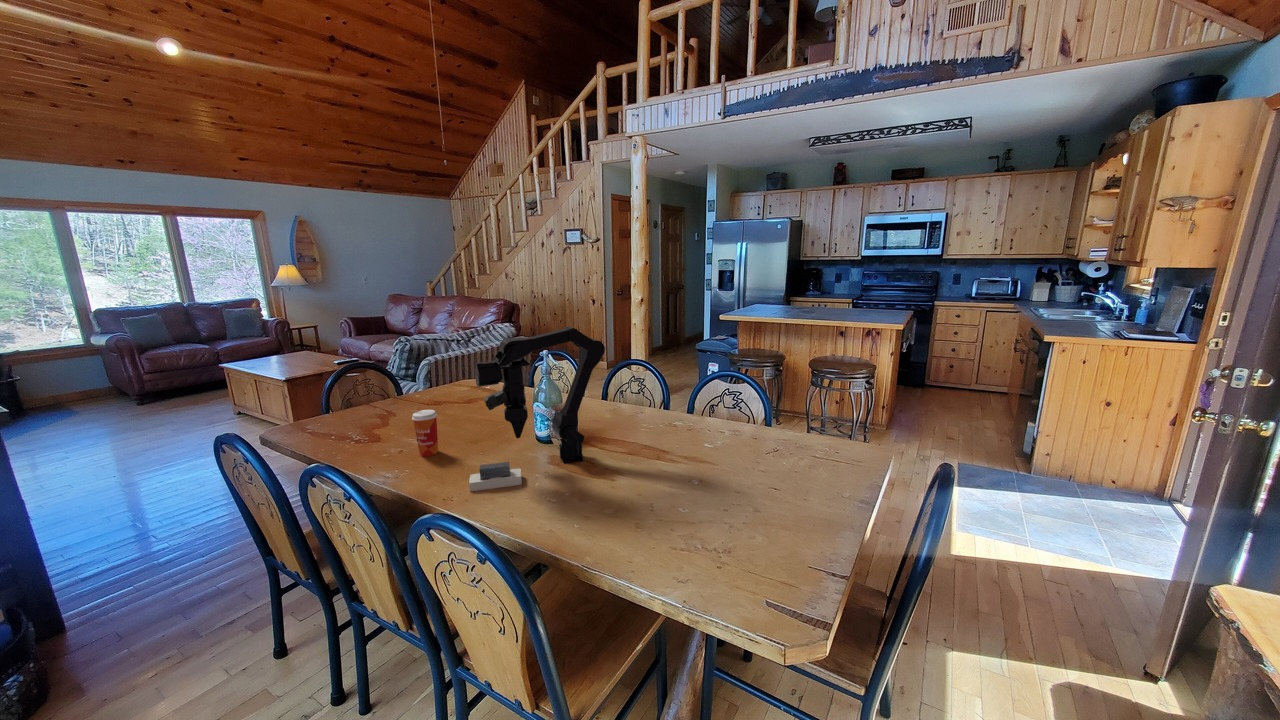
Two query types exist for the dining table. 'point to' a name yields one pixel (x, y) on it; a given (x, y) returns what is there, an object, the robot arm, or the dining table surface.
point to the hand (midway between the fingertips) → (517, 432)
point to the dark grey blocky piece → (494, 470)
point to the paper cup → (426, 432)
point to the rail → (495, 481)
